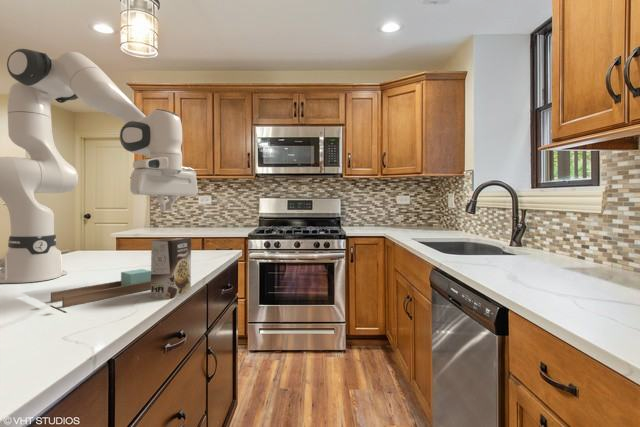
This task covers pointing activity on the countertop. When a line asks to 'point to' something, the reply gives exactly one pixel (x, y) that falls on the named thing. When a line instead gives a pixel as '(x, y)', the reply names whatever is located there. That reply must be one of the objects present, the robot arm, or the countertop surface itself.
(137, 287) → the chute
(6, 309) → the countertop surface
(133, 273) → the block
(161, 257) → the coffee box
